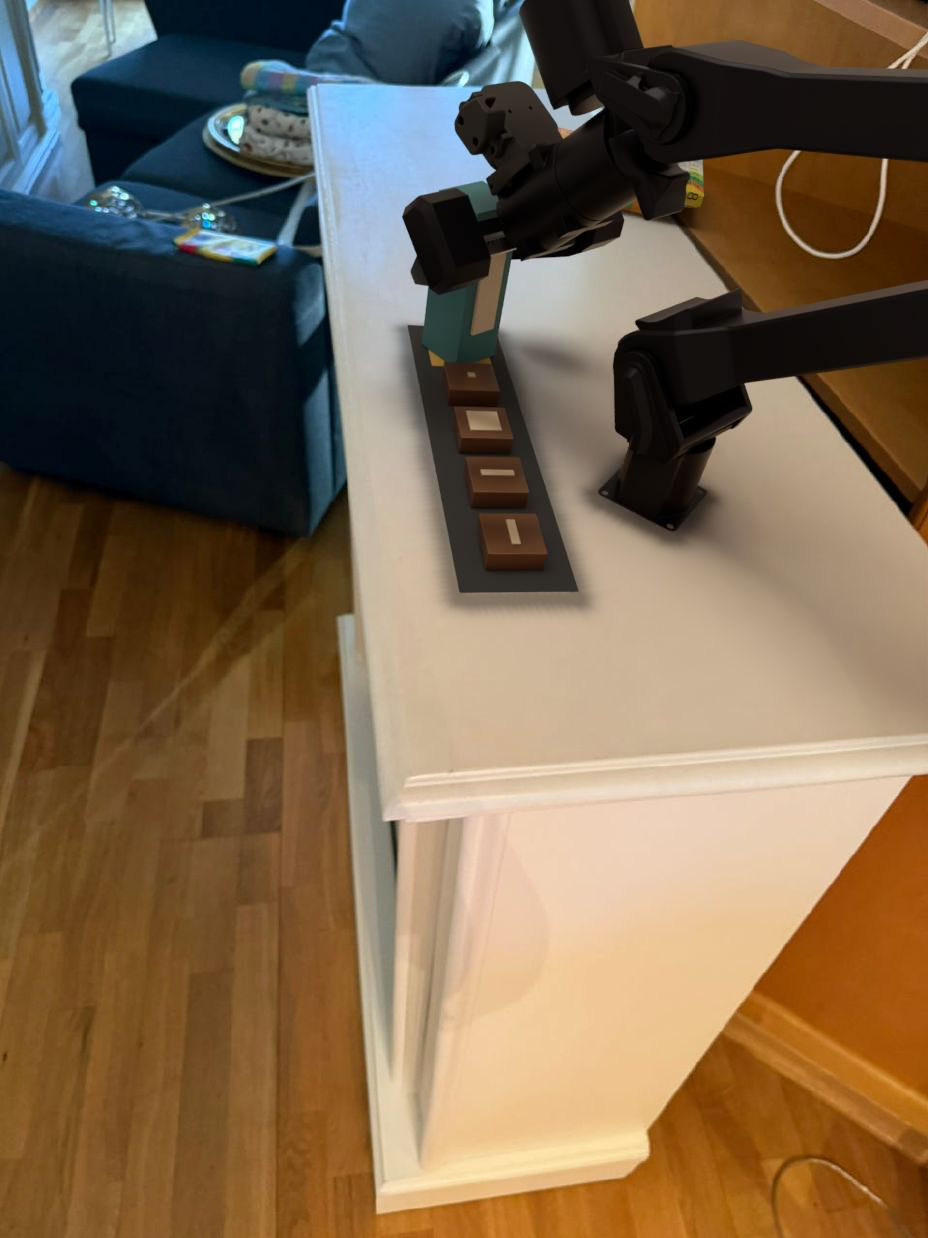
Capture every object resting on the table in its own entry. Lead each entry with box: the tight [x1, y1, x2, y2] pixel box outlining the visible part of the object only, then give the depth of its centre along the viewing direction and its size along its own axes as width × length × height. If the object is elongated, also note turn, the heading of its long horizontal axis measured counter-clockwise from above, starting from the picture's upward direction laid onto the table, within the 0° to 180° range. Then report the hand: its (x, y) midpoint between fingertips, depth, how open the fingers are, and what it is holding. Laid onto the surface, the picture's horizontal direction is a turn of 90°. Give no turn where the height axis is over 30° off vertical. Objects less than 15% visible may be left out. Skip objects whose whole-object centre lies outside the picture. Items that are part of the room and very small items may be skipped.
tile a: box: [476, 513, 548, 570], centre depth 60 cm, size 4×4×2 cm
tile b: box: [463, 457, 529, 508], centre depth 64 cm, size 4×4×2 cm
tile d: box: [442, 362, 500, 407], centre depth 73 cm, size 4×4×2 cm
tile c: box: [452, 406, 513, 454], centre depth 69 cm, size 4×4×2 cm
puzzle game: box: [558, 126, 705, 215], centre depth 106 cm, size 12×5×20 cm
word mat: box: [407, 324, 579, 594], centre depth 69 cm, size 33×8×1 cm, turn 8°
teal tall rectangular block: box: [422, 180, 513, 363], centre depth 73 cm, size 5×4×13 cm
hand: (457, 264), depth 73 cm, fingers open, 9 cm apart
